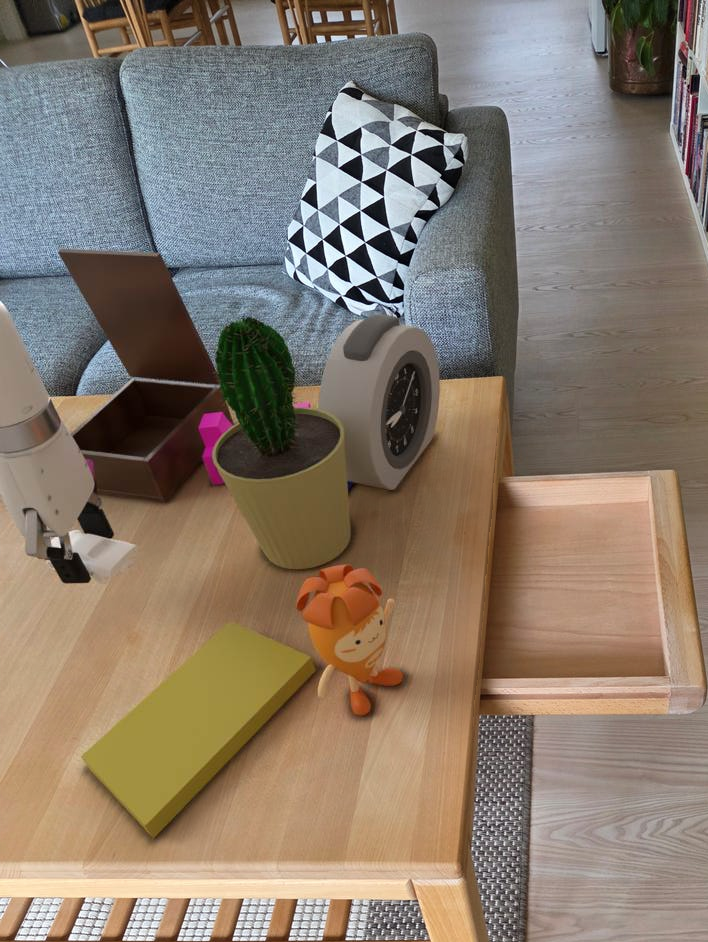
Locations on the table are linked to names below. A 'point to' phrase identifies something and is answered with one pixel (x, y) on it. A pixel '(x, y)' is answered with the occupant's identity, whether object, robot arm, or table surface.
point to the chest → (148, 437)
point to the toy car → (100, 554)
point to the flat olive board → (195, 722)
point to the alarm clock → (382, 397)
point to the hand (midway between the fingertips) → (89, 558)
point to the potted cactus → (280, 451)
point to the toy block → (211, 432)
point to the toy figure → (348, 628)
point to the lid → (141, 314)
